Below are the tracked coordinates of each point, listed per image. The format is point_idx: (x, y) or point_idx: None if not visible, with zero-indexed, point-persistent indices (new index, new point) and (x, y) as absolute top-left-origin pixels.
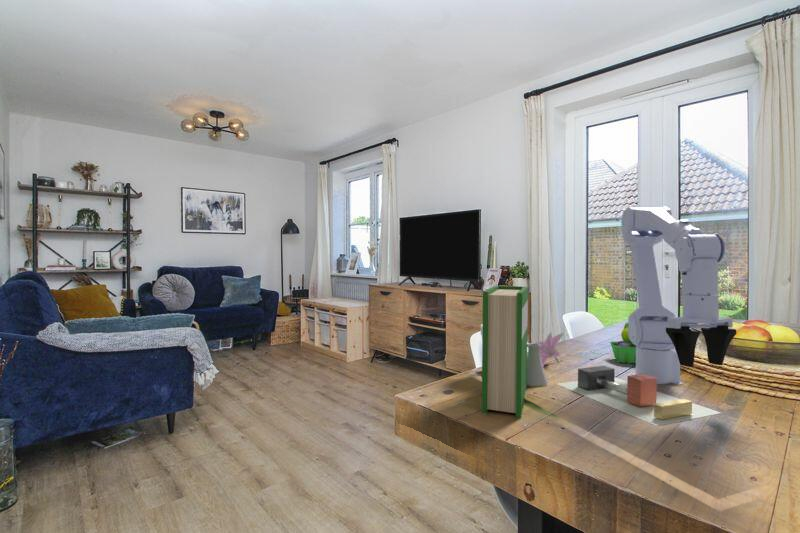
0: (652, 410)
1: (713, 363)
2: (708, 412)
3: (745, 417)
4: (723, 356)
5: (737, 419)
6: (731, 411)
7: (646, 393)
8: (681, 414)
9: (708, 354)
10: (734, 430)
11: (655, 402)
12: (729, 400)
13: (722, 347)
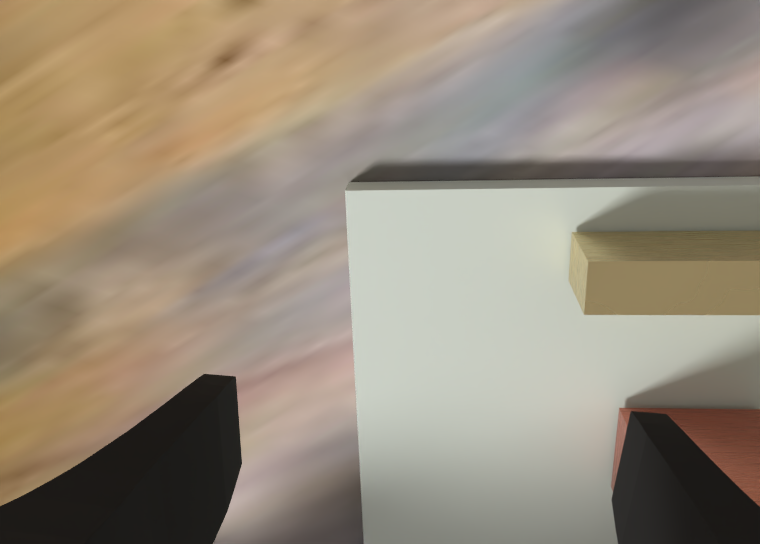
0: (727, 358)
1: (238, 433)
2: (420, 223)
3: (189, 141)
4: (173, 414)
5: (272, 136)
6: (175, 232)
7: (742, 457)
8: (678, 233)
9: (208, 538)
10: (478, 24)
11: (629, 414)
12: (9, 349)
13: (142, 493)
